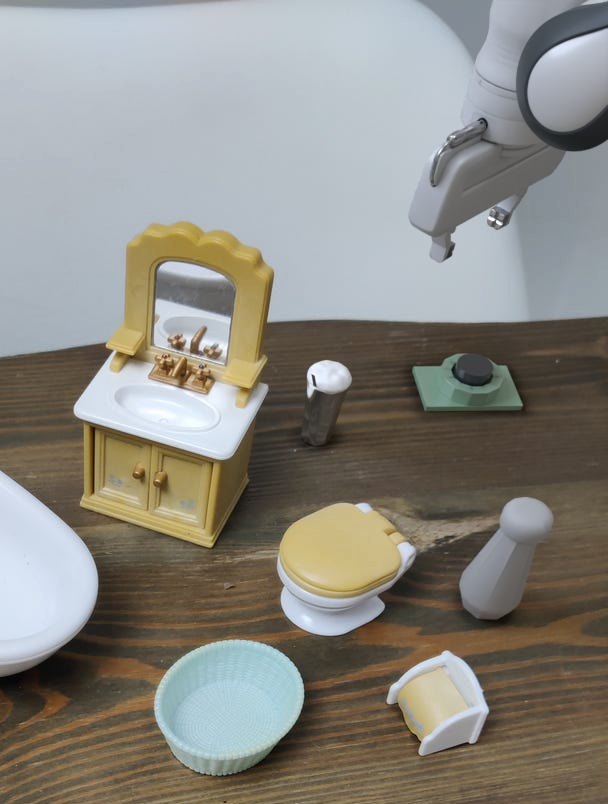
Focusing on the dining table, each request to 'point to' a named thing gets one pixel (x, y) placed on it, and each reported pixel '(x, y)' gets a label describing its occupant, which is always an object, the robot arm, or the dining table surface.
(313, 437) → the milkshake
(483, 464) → the dining table surface
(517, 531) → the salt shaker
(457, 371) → the button
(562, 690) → the dining table surface
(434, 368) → the green base push button
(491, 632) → the dining table surface
